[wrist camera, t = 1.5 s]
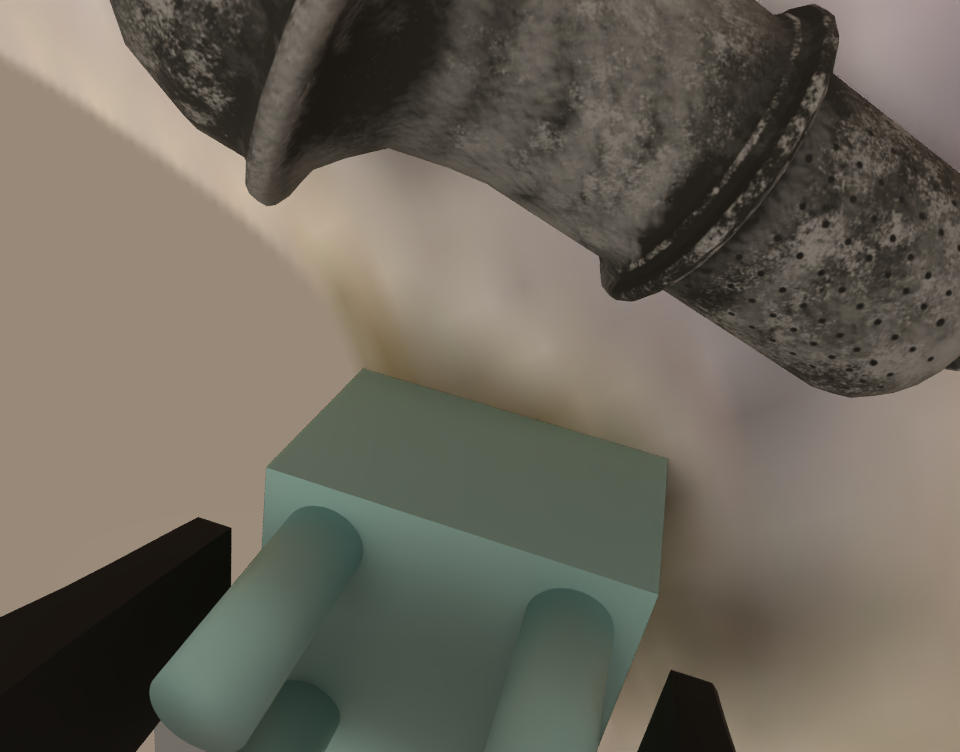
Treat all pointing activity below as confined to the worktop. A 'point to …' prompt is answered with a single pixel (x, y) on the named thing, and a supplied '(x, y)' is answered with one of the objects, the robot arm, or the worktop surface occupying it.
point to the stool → (428, 586)
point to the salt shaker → (613, 150)
